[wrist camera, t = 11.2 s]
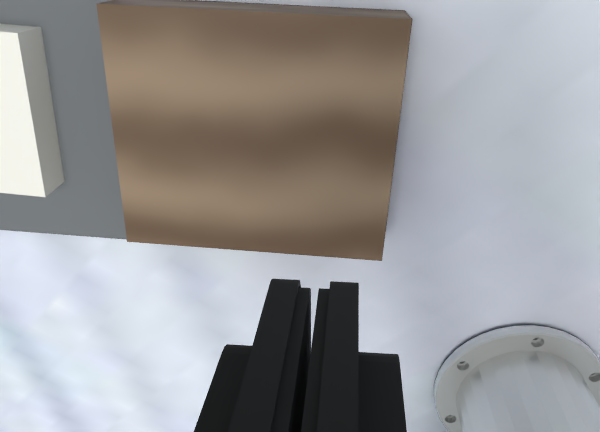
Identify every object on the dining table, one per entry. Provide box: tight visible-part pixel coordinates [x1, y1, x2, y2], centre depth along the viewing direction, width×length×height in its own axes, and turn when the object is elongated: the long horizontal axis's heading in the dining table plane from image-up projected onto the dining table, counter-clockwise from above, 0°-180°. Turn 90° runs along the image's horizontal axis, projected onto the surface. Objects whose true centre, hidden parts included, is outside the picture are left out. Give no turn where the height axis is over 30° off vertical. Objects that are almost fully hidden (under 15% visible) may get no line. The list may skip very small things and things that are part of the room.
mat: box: [0, 0, 127, 239], centre depth 34 cm, size 18×14×1 cm
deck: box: [96, 0, 412, 261], centre depth 31 cm, size 14×16×4 cm
